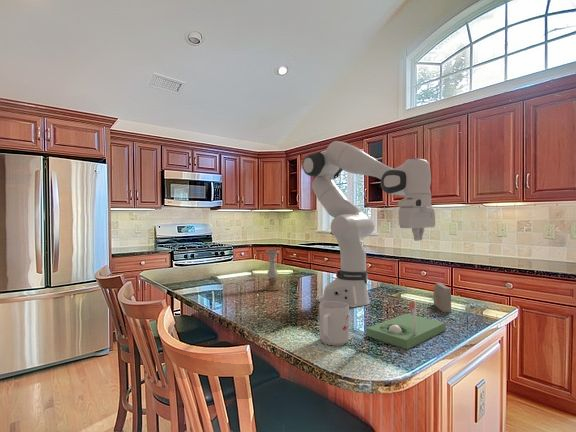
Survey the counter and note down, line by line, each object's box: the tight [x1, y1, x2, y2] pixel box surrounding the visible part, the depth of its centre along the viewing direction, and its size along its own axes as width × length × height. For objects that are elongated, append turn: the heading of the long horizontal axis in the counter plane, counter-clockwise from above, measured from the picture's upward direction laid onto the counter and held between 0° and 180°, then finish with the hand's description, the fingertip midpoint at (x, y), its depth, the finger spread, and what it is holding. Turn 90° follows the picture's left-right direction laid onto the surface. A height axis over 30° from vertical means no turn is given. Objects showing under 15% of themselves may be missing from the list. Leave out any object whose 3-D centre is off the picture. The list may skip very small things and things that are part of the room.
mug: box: [318, 301, 350, 347], centre depth 98 cm, size 12×9×11 cm
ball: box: [389, 325, 402, 333], centre depth 102 cm, size 4×4×4 cm
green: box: [366, 300, 446, 350], centre depth 107 cm, size 24×14×12 cm, turn 130°
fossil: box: [433, 282, 452, 313], centre depth 136 cm, size 12×4×10 cm, turn 173°
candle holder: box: [263, 249, 282, 292], centre depth 172 cm, size 9×9×20 cm
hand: (418, 240), depth 120 cm, fingers closed
